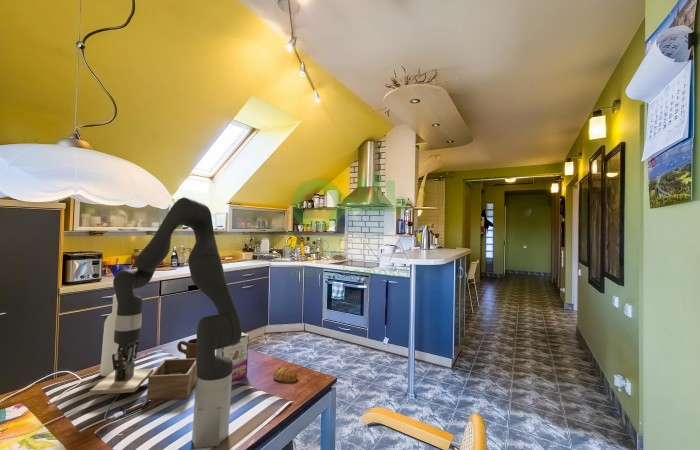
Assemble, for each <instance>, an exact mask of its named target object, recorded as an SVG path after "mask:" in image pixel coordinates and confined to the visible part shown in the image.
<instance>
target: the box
mask: <svg viewBox="0 0 700 450" xmlns="http://www.w3.org/2000/svg"><path fill="white" fill-rule="evenodd" d="M196 374H197V366H196V358H192V359H186V358H172V359H171V358H165V359H163V360H162V362H161V363H159V365H158V366H157V367H156V368H155V369H153V372H152V373H151V374H150V375H149V377H148V378H147V391H146V402H150V401H149V400H154V401H153V402H160V401H161V400H162V401H174V400H175V399H179V400H187V399H188V397H189V396H190V394H191V392H192V390H193V389H192V388H194V387H195V386H196V384H195V383H196ZM189 393H190V394H189ZM188 395H189V396H188ZM175 401H176V400H175Z"/></svg>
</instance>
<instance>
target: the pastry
mask: <svg viewBox="0 0 700 450" xmlns="http://www.w3.org/2000/svg"><path fill="white" fill-rule="evenodd" d="M298 376H299V375H298V373H296V371H294V370H292V369H290V368H289V367H285V366H283V367H281V366H278V367H276V369H275V370H274V372H273V375H272V377H273V379H274V380H276V381H279V382H284V383H291V382H292V383H293V382H296V381H297V379H298Z"/></svg>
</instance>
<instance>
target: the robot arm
mask: <svg viewBox="0 0 700 450" xmlns="http://www.w3.org/2000/svg"><path fill="white" fill-rule="evenodd" d="M179 226H184V227H187V228H189V229H192V230H193V234H194V237H195V238H194V239H195V243H194V245H193V247H192V249H191V251H190V253H189V256H188V260H187V261H188V269H189V273H190V277H191V280H192V282H193V283H194V285H195V286H196V287H197V289H199V290H200V291H201V292H202V293H203V294H204V295H205V296H206V297H207V298H208V299H209V300H210V301H211V302H212V303H213V304H214V306H215V308H216V310H217V314H212V315H208V316H204V317H202V318H201V319H199V322H198V324H197V326H196V327H197V328H196V338H197V351H196V366H197V374H196V384H195V389H194V404H193V420H192V436H191V443H192V444H193V448H194V449H199V448H200V449H201V448H210V447H218V446H220V444H221V443H222V442H223V441H225V440H226V439H227V437H228V435H229V431H230V430H229V428H230V416H231V413H230V412H231V398H232V395H231V394H232V370H233V362H232V360H231V359H229V358H226V357H222V356H216V349H220V348H224V347H228V346H232V345H235V344H237V343H238V342H239V341H240V339H241V336H242V332H243V329H242V323H241V320H240V317H239V314H238V311H237V307H236V306H235V303H234V300H233V298H232V295H231V293H230V290H229V286H228V283H227V279H226V276H225V272H224V271H225V270H224V267H223V263H222V260H221V256H220V254H219V250H218V246H217V240H216V236H215V232H214V225H213V218H212V213H211V210H210V208H209V206H207V205H206V204H204V203H202V202H200V201H197V200H195V199H193V198H190V197H186V196H185V197H181V198H179V199H177V201H175V202H174V203H173V204H172V206H171V208H170V209H169V210H168V212H167V214H166V215H165V217H164V218H163V220H162V222H161V224H160V225H159V227H158V228H157V230H156V232H155V234H154V235H153V237H152V238H151V240H150V241H149V243H148V244H147V245H145V247H144V248H143V249H142V250H141V251H140V253H139V254H138V255H137V256H136V257H135V260H134V265H135V268H127V269H126V268H125V269H121V270H119V271H118V272H117V273H115V275H114V277H113V281H112V286H113V290H114V295H115V294H116V298H117V302H118V305H117V316H116V320H115V330H114V342H115V343H117V344H118V345H119V346H118V349H117V354H113V355H112V362H113V370H117V381H123V380H124V379H125V373H126V365H127V362H128V361H135V360H136V359H137V356H138V350H139V346H140V339H141V337H142V336H141V335H142V325H143V323H142V322H143V321H142V320H143V315H142V313H143V312H142V311H143V298H142V297H141V296H140V295H136V294H135V295H134V291H133V290H137V289H140V288H143V287H145V286H147V285H148V284H149V283H150V281H151V280H152V279H153V276H154V274H155V272H156V269H157V268H158V267H159V265H161V264H162V262H163V261H164V260H165V259H166V258H167V256H168V255H169V252H170V250H171V240H172V236H173V233H174V231H175V230H176V229H177V228H178V227H179ZM123 358H124V359H123ZM123 362H124V365H123Z"/></svg>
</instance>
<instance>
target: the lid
mask: <svg viewBox="0 0 700 450" xmlns="http://www.w3.org/2000/svg"><path fill="white" fill-rule="evenodd" d="M123 365H124V362H123ZM153 371H154V368H137V369H135V360H134V361H128V362H127V365H126V373H125V379H124V380H123V381H117V370H114V371H113V372H112V373H111V374H109V375H108V376H105V378H104V377H103V379H102V380H101V381H99V382H98V383H97V384H96V385H95V386H93V387H92V388H91V389H89V392H88V393H89V395H103V394H104V395H105V394H120V393H121V394H123V393H135V392H136V391H137V390H138V389H139V388H140V386H141V385H142V384H143V383H144V382H145V381H146V380H148V377H149V375H150V374H151V373H152V372H153Z"/></svg>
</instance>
